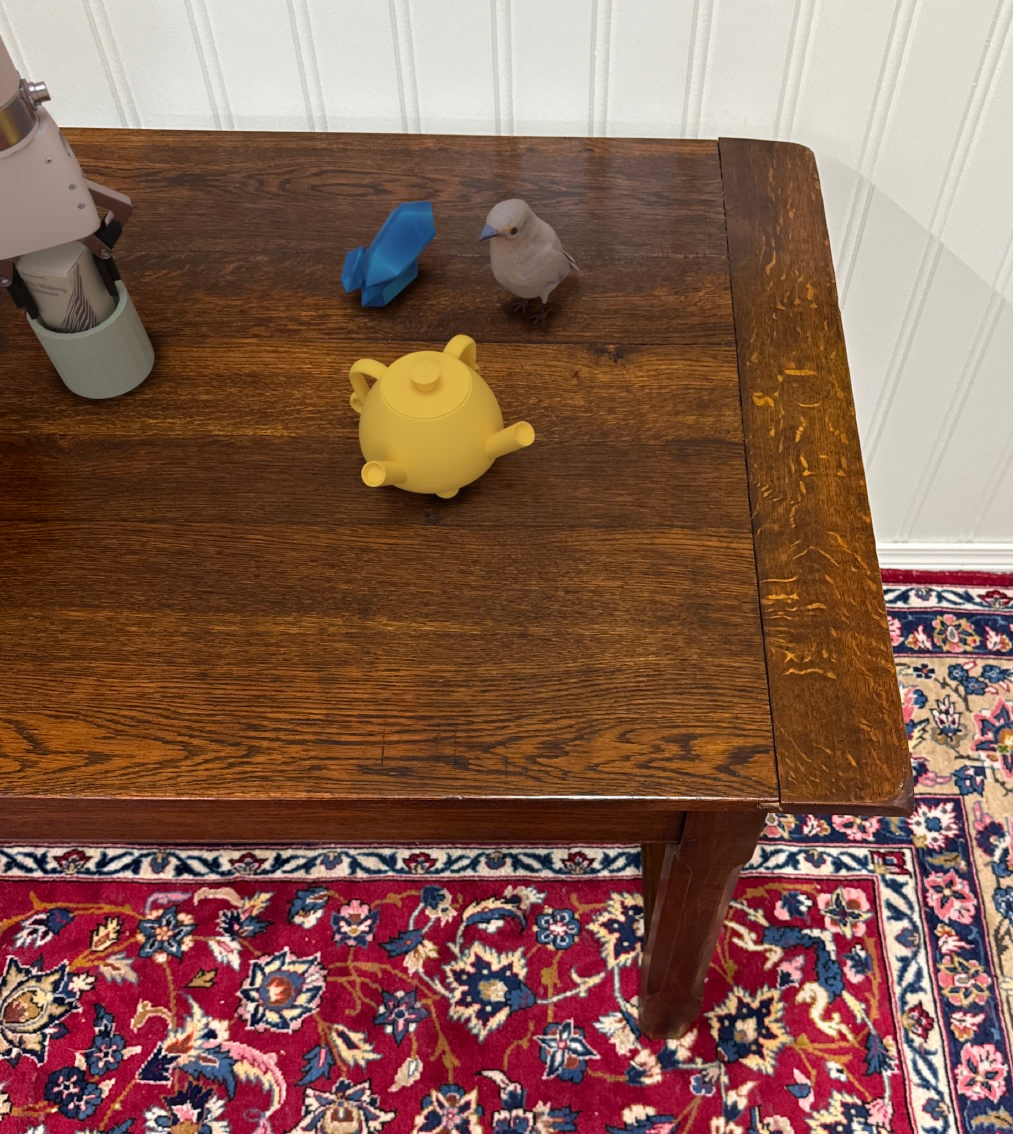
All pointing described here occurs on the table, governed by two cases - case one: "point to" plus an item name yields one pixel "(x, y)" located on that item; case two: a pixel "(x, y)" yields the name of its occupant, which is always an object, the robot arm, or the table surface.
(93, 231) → the robot arm
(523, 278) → the bird
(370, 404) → the teapot
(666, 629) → the table surface
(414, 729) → the table surface
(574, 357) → the table surface
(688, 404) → the table surface
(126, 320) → the jar
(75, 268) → the box
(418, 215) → the crystal
